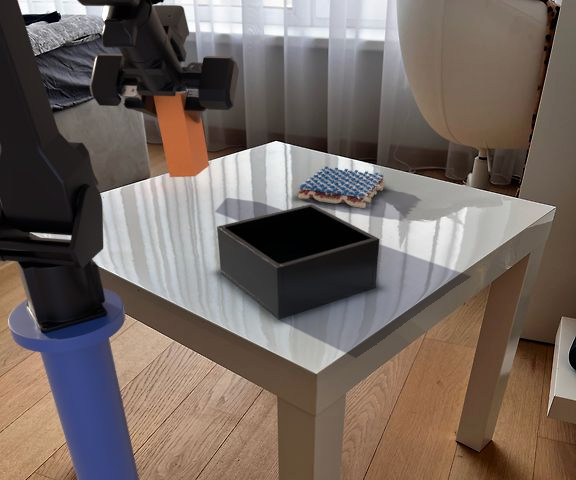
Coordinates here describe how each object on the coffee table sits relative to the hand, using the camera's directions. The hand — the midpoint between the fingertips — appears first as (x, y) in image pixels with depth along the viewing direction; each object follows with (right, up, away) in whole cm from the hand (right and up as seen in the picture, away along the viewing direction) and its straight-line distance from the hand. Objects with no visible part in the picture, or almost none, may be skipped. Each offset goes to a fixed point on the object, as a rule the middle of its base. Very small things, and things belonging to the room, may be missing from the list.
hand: (184, 119), depth 87 cm
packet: (0, -6, +3) cm, 7 cm away
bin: (+16, -26, -20) cm, 37 cm away
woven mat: (+23, -10, +3) cm, 25 cm away
